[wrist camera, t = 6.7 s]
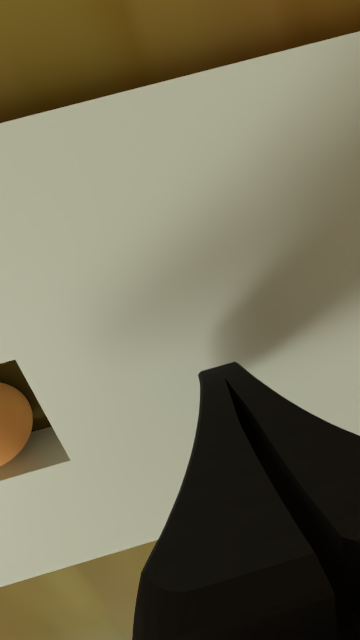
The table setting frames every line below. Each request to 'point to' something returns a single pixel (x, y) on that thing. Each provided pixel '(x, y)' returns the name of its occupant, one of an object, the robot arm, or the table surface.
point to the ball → (13, 422)
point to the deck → (172, 283)
